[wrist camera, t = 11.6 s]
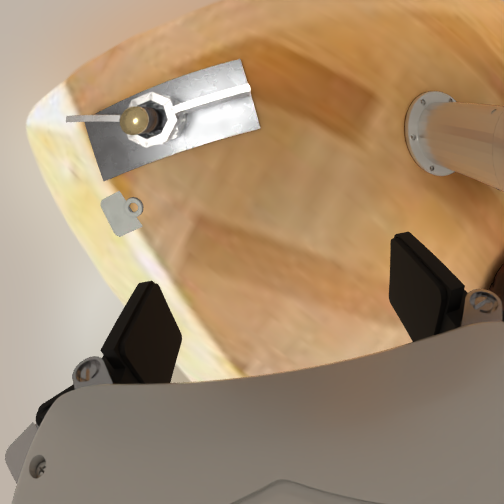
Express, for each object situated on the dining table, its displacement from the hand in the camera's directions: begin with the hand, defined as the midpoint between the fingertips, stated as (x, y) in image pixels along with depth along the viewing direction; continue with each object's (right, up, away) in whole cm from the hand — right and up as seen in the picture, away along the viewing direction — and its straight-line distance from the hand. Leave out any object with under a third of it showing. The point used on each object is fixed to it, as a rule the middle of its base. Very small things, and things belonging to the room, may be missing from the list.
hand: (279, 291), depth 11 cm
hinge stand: (-11, +18, +20) cm, 29 cm away
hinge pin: (-12, +17, +19) cm, 28 cm away
